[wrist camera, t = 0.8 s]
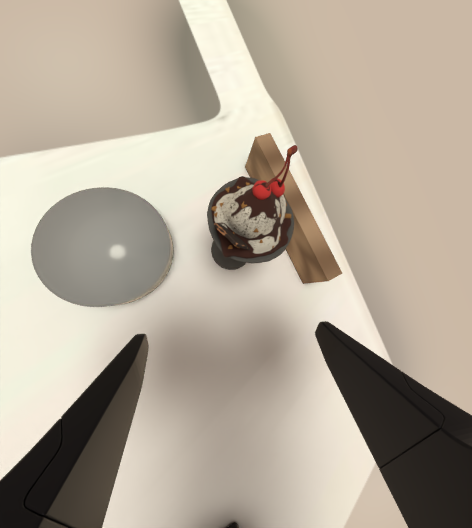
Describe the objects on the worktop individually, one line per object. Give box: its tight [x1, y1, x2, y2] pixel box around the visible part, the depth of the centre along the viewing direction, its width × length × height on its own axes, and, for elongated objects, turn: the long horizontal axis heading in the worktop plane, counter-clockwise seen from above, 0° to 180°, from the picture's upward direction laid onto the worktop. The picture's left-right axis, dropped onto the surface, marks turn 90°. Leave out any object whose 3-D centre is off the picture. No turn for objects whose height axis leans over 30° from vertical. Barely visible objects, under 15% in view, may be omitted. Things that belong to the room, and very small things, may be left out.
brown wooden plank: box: [245, 133, 342, 284], centre depth 23 cm, size 18×2×5 cm, turn 26°
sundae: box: [207, 145, 297, 270], centre depth 16 cm, size 7×7×15 cm
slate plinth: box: [31, 188, 173, 307], centre depth 19 cm, size 12×12×3 cm
